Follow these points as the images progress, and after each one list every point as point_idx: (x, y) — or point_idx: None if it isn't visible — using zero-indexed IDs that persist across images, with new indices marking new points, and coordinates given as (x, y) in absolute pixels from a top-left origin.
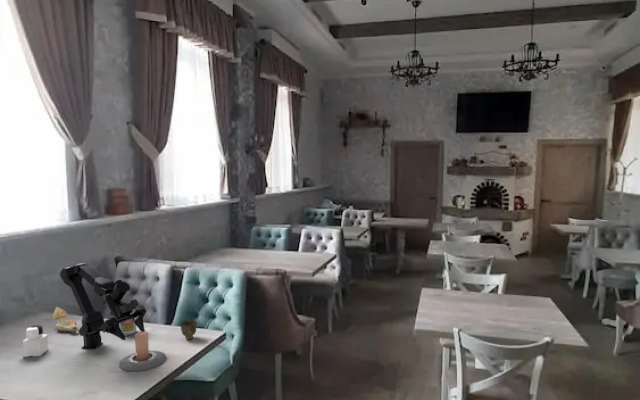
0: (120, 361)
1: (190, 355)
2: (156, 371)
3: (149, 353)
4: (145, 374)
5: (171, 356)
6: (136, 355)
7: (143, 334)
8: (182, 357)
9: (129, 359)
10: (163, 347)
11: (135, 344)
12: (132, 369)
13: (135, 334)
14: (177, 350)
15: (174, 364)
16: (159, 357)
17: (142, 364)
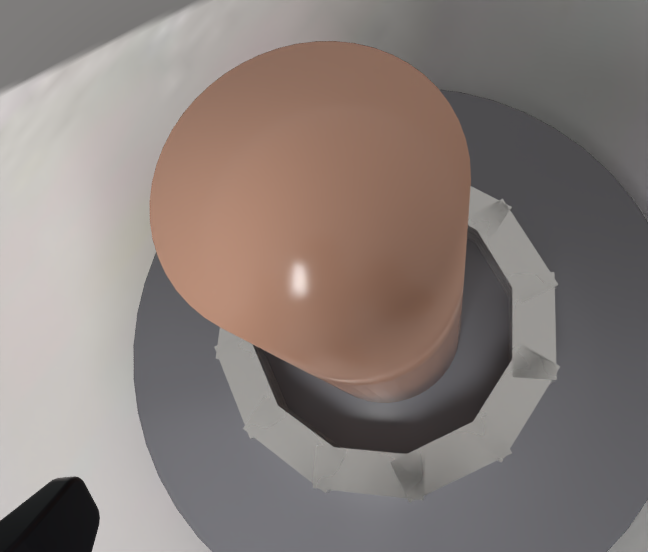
0: (603, 542)
1: (56, 82)
2: (435, 17)
3: (258, 357)
4: (541, 33)
5: (145, 196)
6: (461, 314)
7: (299, 98)
8: (115, 98)
9: (534, 392)
10: (16, 482)
11: (460, 289)
12: (607, 179)
13: (420, 264)
14: (19, 273)
15: (249, 27)
16: None
17: None
